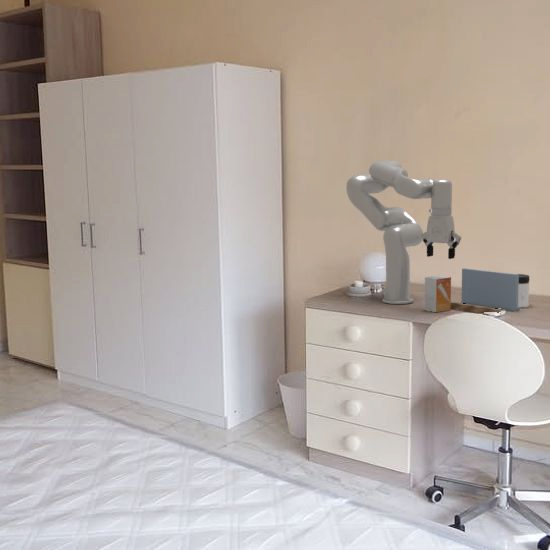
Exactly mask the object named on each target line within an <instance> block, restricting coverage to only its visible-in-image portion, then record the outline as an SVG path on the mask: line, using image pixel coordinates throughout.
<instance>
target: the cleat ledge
mask: <svg viewBox="0 0 550 550" xmlns="http://www.w3.org/2000/svg"><path fill="white" fill-rule="evenodd" d="M450 308H452V309H451V310H454V309H458V310H457V311H460V310H463V311H462V312H466V311H468V312H469V313H474V314H479V313H484V312H497V313H499V312H501V311H502V309H495V308H489V307H482V306H476V305H470V304H463V303H461V302H455V301H451V306H450Z"/></svg>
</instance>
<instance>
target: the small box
mask: <svg viewBox="0 0 550 550" xmlns="http://www.w3.org/2000/svg"><path fill="white" fill-rule="evenodd" d="M451 300H452V277H451V276H447V275H440V274H438V275H433V276H426V277H424V311H426V312H430V311H432V312H431V313H435V312H437V313H441V312H445V311H444V310H448V311H451V309H450V306H451V302H452V301H451ZM440 311H441V312H440Z"/></svg>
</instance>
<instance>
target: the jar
mask: <svg viewBox="0 0 550 550" xmlns="http://www.w3.org/2000/svg"><path fill="white" fill-rule="evenodd" d="M518 274H519V287H518V308H520V309H522V308H523V307H524V308H529V299H530V297H529V295H530V275H528V274H524V273H518ZM524 308H523V309H524Z"/></svg>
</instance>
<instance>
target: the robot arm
mask: <svg viewBox="0 0 550 550" xmlns="http://www.w3.org/2000/svg"><path fill="white" fill-rule="evenodd" d="M389 187H391V188H392V189H393V188H394V189H393V190H394V191H395V192H396V193H397V194H399V196H400V195H401V196H403V197H405V198H408V199H410V200H411V199H412V200H423V199H430V208H429V210H428V212H429V213H430V215H429V216H428V220H427V226H426V231H425V232H424V230H423V229H422V227H421V226H420V224H419V223H418V222H417V221H416V220H415V219H414V218H413V217H412V215H410V214H409V213H408V212H407V211H406V210H405V209H404V208H402V207H397V206H396V207H395V206H394V207H393V206H392V207H387V206H384V205H383V204H382V203H381V202H380V201H379V199H377V198H376V197H375V196H373V195H371V194H380V193H382V192H383V191H385V190H387V189H388V188H389ZM345 189H346V194H347V197H348V199H349V201H350V202H351V204H352V205H353V206H354V207H355V208H356V209H357V210H359V211H360V213H361V214H363V216H364V217H365V218H366V219H367V220H368V221H369V223H371V225H372V226H373V227H374V229H376V230H377V231H380V232H383V237H382V238H383V239H382V240H383V244H384V249H385V289H384V288H383V289H381V291H379V295H383V297H382V301H381V302H383V303H385V304H390V305H391V304H392V305H408V304H411V303H414V298H413V297H411V296H410V285H411V284H410V282H411V281H410V277H411V276H410V273H411V271H410V270H411V269H410V267H411V265H410V255H409V253H408V251H407V249H406V248H409V247H414V246H415V247H416V246H419V245H420V244H421V243H422V242H423V243H424V245H425V246H426V257H429V258H430V257H433V256H434V245H433V244H434V243H436V244H447V246H448V247H449V248H448V256H447V258H448V259H449V260H452V259H455V256H456V248H457V247H458V246H459V244H460V242H461V239H462V236H461V235H459V234H458V233H456V232H455V222H454V216H453V215H452V213H453V212H452V211H453V210H452V209H453V208H452V207H453V203H452V202H453V201H452V199H453V197H452V195H453V194H452V193H453V183H452V181H451V180H450V179H436V178H416V179H415V178H411V177H409V173H408V171H407V169H405V168H404V167H403V166H402V165H401V163H400V162H399V161H397V160H394V159H393V160H377V161H375V162H373V163H372V164H371V165H370V167H369V169H368V173H359V174H356V175H352V176H351V177H350V178H348V180H347V182H346V188H345Z"/></svg>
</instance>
